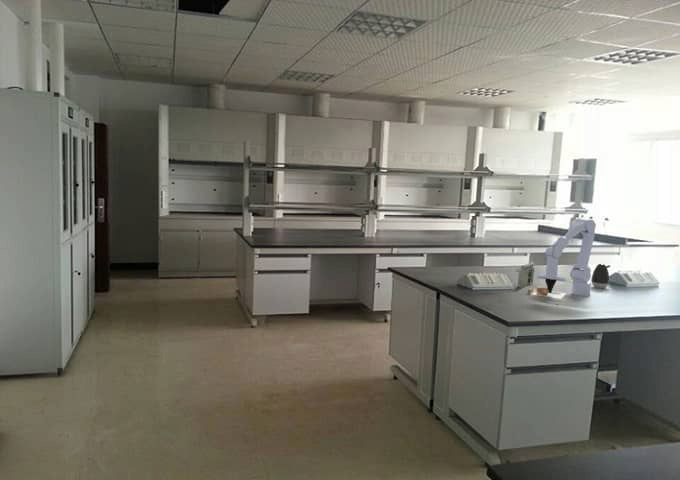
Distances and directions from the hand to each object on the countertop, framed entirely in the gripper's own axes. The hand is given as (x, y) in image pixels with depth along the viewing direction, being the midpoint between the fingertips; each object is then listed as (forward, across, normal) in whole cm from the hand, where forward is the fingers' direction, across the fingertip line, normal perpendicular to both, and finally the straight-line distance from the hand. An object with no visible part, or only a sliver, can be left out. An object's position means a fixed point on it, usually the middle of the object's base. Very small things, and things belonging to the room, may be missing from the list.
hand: (549, 292), depth 293 cm
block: (+1, -4, 0) cm, 4 cm away
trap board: (+3, -2, +4) cm, 6 cm away
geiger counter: (+3, -19, +30) cm, 36 cm away
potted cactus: (+3, +20, +55) cm, 59 cm away
